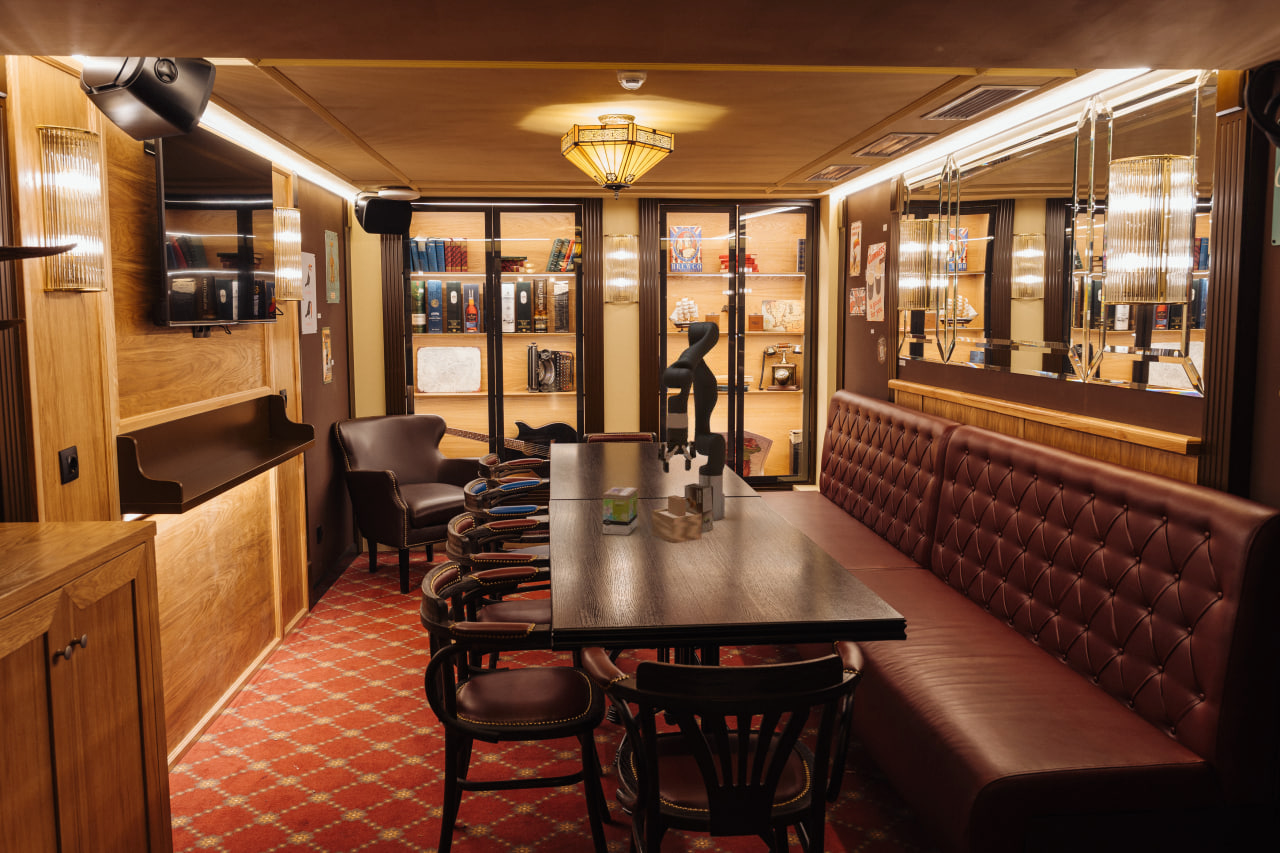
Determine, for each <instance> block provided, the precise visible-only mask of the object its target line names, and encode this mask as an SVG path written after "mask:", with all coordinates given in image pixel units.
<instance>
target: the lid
mask: <svg viewBox="0 0 1280 853" xmlns="http://www.w3.org/2000/svg"><path fill="white" fill-rule="evenodd" d="M667 509H668V511H664V512H659V513H662V514H664V515H667V516H670V517H672V518H676V517H684V516H692V515H694V514H691V513H688V512H686V499H685V497H681V496H678V495H676V494H675V495H668V496H667Z"/></svg>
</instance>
